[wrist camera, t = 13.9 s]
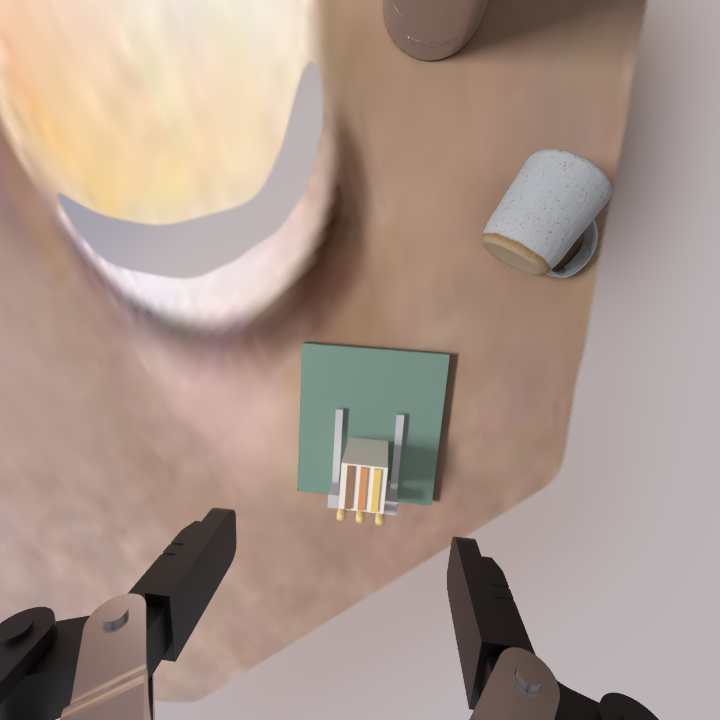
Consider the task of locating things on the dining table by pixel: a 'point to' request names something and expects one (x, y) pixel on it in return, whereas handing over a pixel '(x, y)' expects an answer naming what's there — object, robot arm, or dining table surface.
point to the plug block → (364, 475)
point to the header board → (371, 418)
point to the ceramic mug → (548, 214)
